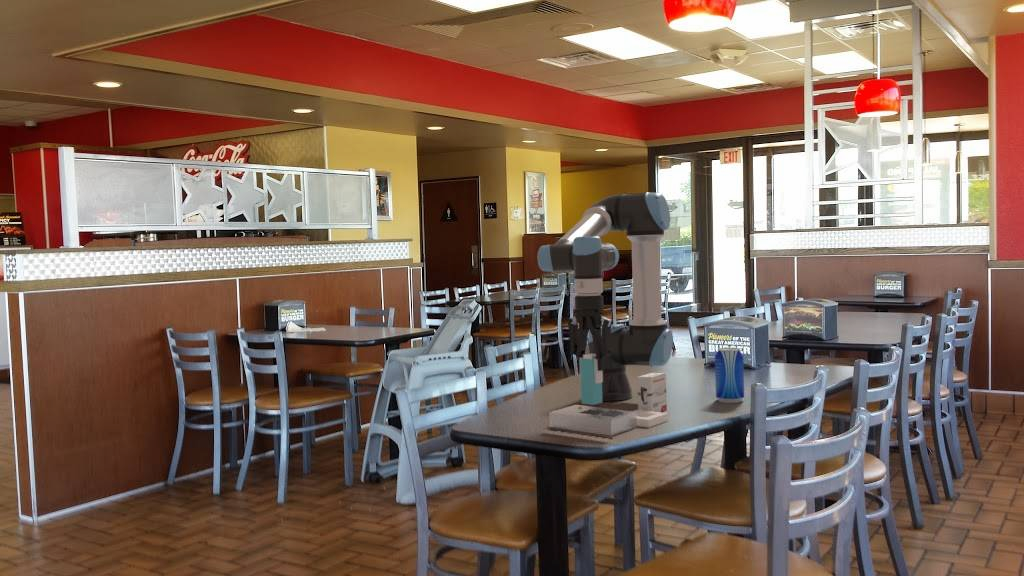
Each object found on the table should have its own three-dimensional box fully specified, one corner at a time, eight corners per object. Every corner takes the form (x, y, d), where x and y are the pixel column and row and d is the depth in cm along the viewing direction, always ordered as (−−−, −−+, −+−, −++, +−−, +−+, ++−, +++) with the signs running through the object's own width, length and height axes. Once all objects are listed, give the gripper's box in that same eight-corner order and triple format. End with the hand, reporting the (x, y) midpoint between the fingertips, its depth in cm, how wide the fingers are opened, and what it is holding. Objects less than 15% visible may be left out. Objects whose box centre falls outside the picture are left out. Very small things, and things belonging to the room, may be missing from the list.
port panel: (550, 430, 235) (549, 410, 235) (576, 422, 244) (575, 402, 244) (611, 439, 222) (610, 418, 221) (637, 430, 231) (636, 410, 231)
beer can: (745, 403, 261) (743, 350, 261) (716, 403, 263) (715, 350, 262) (743, 398, 270) (742, 346, 269) (715, 398, 271) (714, 347, 271)
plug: (581, 403, 232) (579, 354, 231) (590, 400, 235) (588, 353, 234) (593, 404, 229) (592, 355, 229) (602, 402, 232) (601, 353, 232)
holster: (617, 426, 236) (616, 415, 236) (637, 420, 244) (637, 409, 244) (648, 431, 230) (648, 419, 229) (668, 424, 237) (668, 413, 237)
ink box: (652, 411, 255) (651, 371, 254) (667, 413, 252) (666, 372, 251) (637, 417, 248) (636, 376, 247) (652, 418, 245) (651, 377, 244)
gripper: (554, 295, 234) (557, 381, 235) (607, 295, 222) (609, 386, 224) (571, 293, 239) (574, 377, 240) (623, 293, 228) (626, 382, 229)
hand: (591, 381), depth 232 cm, fingers closed on plug, 4 cm apart
